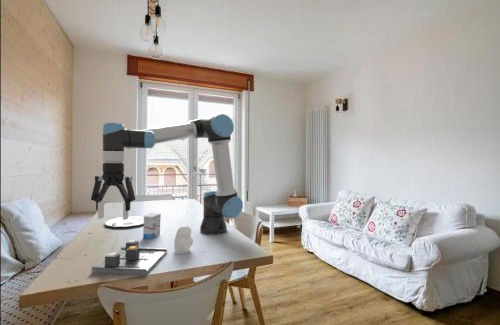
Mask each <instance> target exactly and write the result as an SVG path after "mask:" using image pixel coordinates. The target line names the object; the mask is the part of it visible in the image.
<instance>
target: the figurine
mask: <svg viewBox="0 0 500 325" xmlns="http://www.w3.org/2000/svg"><path fill="white" fill-rule="evenodd" d="M191 234H192V230H191V227H190V226H189V225H187V224H183V225H180V226H179V227H178V228H177V230H176V233H175V238H174V243H173V244H174V246H173V247H174V248H173V249H174V252H175V253H176V254H180V255H181V254H182V255H183V254H187V253H189V251H190V248H191V247H192V246H193V243H194V239H193V238H192V237H191Z"/></svg>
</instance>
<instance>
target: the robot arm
mask: <svg viewBox="0 0 500 325" xmlns="http://www.w3.org/2000/svg"><path fill="white" fill-rule="evenodd" d="M234 128H235V126H234V122H233V120H232V119H231V117H230V116H228V115H227V114H225V113H216V114H211V115H206V116H203V117H200V118H196V119H192V120H188V122H186V123H179V124H178V123H177V124H174V125H166V126H159V127H153V128H147V129H127V128H126V127H125V125H124V124H123V123H120V122H105V123H104V124H103V125H102V134H101V135H102V162H103V163H102V175H95V176H94V184H93V188H92V189H93V190H92V194H91V197H90V201H94V202H95V203H96V204H95V210H96V211H97V219H98V220H100V219H103V218H105V201H104V200H103V198H104V197H105V195H106V193H107V191H108V189H109V188H111V186H113V187H116V188H117V189H118V191H119V192H120V195H121V197H122V198H123V200H124V202H122V217H123V220H125V219H127V218H128V216H129V211H130V210H131V202H134V201H136V195H135V191H134V187H133V184H132V183H133V182H132V179H133V178H132V176H131V175H129V176H128V175H126V176H125V173H124V172H125V164H124V161H125V152H124V151H125V148H126V149H129V150H130V149H152V148H154V146H155V145H156V144H161V143H167V142H172V141H178V140H183V139H189V138H190V139H193V140H194V139H205V138H206V139H207V143H209V144H210V145H211V150H212V155H213V156H212V158H213V164H214V166H213V167H214V174H215V182H216V189H217V190H208V191H205V192H203V215H202V216H203V218H202V221H201V224H200V227H199V231H200V233H201V234H204V235H212V236H213V235H222V234H224V232H225V233H226V232H227V231H228V226H227V223H226V221H225V220H226V219H231V220H232V219H235V218H237V217H238V216H240V214H241V212H242V211H243V208H244V207H243V206H244V204H243V201H242V198H240V197H239V196H238V191H237V189H235V186H234V180H233V171H232V162H231V155H230V154H231V153H230V147H229V146H230V145H229V144H230V141H231V140H232V138H231V136H232V134H233V132H234ZM102 181H104V182H102ZM123 181H124V182H125V185H124V182H123ZM102 183H103V184H102ZM225 218H226V219H225Z"/></svg>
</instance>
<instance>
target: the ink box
mask: <svg viewBox="0 0 500 325" xmlns="http://www.w3.org/2000/svg"><path fill="white" fill-rule="evenodd" d="M143 217H144V224H143V232H142V233H143V234H142V238H143V239H144V240H153V239H155V238H157V237H158V236H161V218H162V216H161V213H157V212H152V213H151V212H150V213H148V214H144V216H143Z"/></svg>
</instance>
